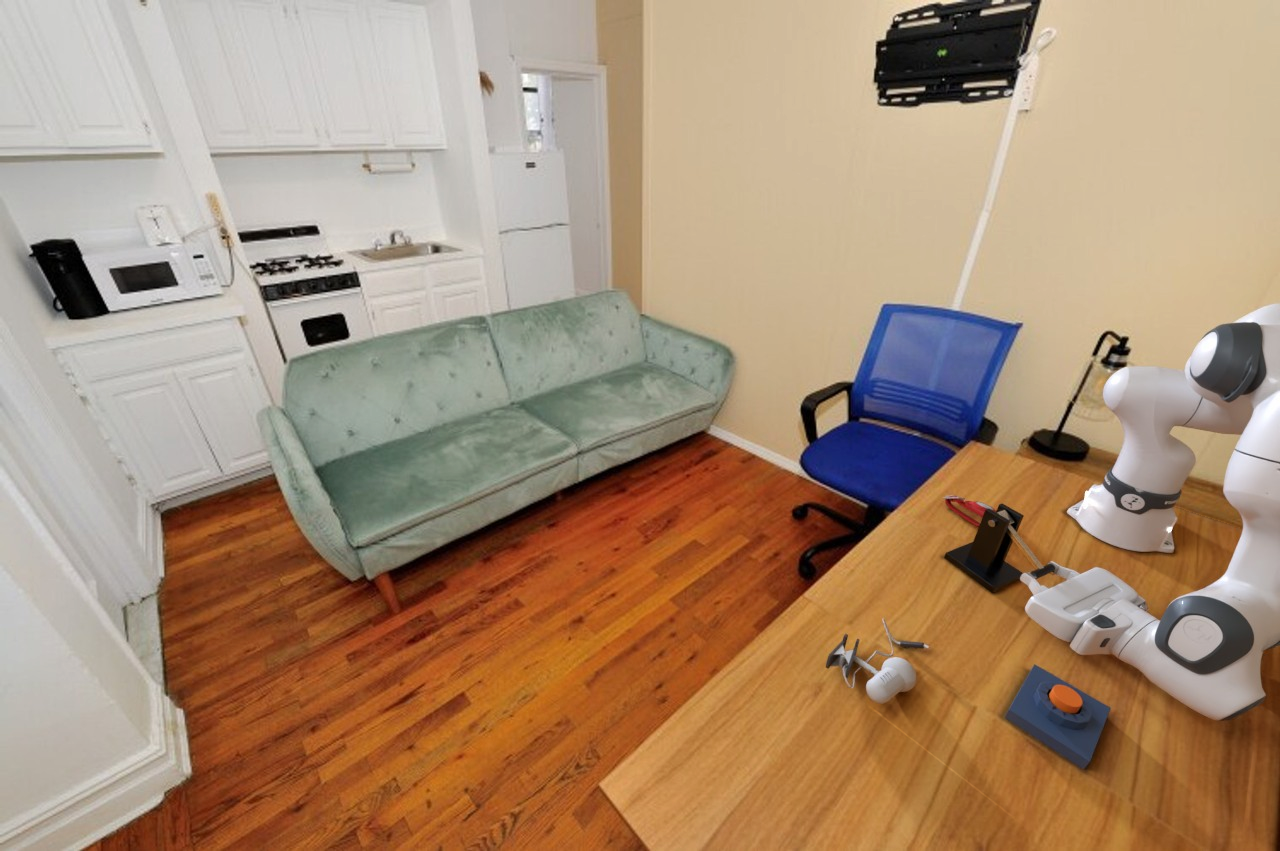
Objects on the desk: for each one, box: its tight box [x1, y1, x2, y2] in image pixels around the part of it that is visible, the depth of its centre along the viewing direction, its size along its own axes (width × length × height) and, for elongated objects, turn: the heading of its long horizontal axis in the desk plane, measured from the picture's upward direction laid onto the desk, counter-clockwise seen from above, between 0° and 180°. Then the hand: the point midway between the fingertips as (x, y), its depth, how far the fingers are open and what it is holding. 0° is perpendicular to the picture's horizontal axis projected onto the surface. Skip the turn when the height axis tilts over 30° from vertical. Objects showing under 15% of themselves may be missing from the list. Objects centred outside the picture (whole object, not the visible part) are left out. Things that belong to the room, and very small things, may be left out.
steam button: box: [1049, 685, 1083, 714], centre depth 76 cm, size 4×4×2 cm
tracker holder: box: [942, 494, 997, 527], centre depth 121 cm, size 12×4×10 cm
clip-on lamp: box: [825, 617, 930, 705], centre depth 85 cm, size 12×6×18 cm
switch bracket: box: [943, 503, 1025, 594], centre depth 103 cm, size 11×9×15 cm
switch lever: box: [997, 510, 1056, 580], centre depth 98 cm, size 13×6×2 cm, turn 24°
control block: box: [1004, 663, 1112, 770], centre depth 77 cm, size 12×10×4 cm
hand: (1035, 569), depth 96 cm, fingers closed on switch lever, 5 cm apart
